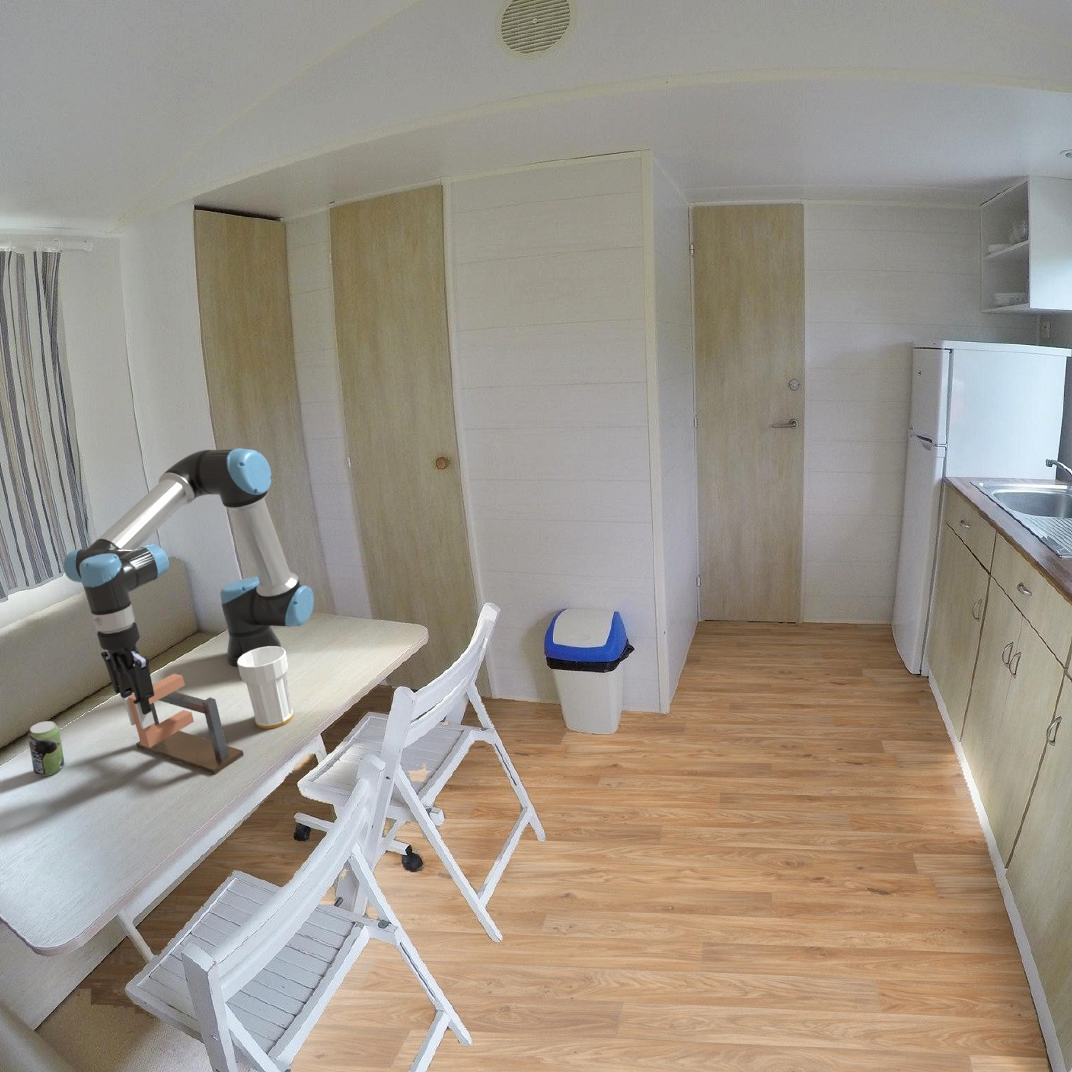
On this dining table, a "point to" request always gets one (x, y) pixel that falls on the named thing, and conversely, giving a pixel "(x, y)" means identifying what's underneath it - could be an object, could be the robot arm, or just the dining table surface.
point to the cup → (267, 685)
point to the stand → (196, 738)
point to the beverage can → (46, 748)
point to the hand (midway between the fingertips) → (142, 723)
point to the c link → (170, 725)
